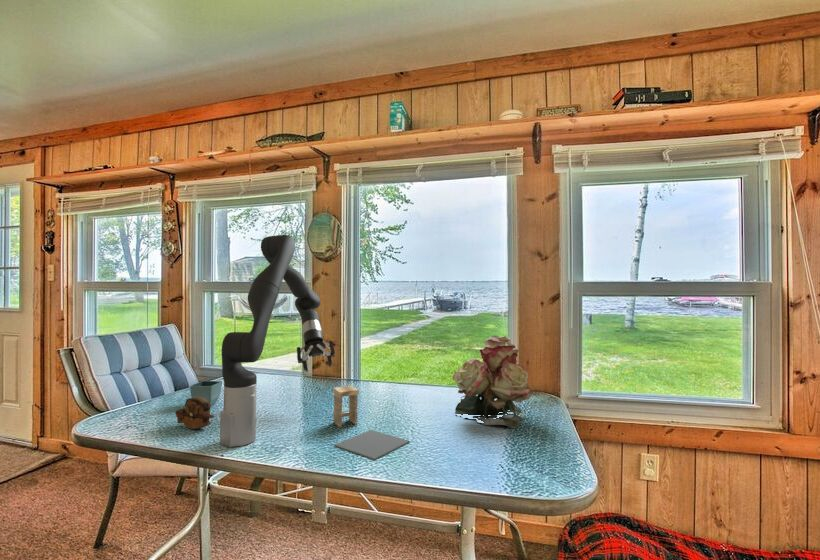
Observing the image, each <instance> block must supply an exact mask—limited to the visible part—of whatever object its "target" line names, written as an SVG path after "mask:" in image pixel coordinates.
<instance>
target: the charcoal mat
mask: <svg viewBox="0 0 820 560" xmlns="http://www.w3.org/2000/svg"><path fill="white" fill-rule="evenodd" d="M410 442H411V441H410V440H408V439H404V438H401V437H398V436H395V435H390V434H388V433H384V432H380V431H376V430H373V429H370V430H367V431H364V432H362V433H359V434H357V435H354V436H352V437H349V438H347V439H344V440H343V441H341V442H338V443H336V444H334V447H335V448H339V449H341V450H345V451H347V452H350V453H353V454H356V455H359V456H362V457H363V458H364V457H365V458H367V459H371V460H373V461H377V459H379V458H381V457H384V456H386V455H388V454H389V453H391V452H393V451H395V450H397V449H399V448H402V447H403V446H406V445H407V444H409V443H410Z"/></svg>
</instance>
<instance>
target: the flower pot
mask: <svg viewBox="0 0 820 560" xmlns="http://www.w3.org/2000/svg"><path fill="white" fill-rule="evenodd" d="M222 385H223V381H222V380H201V381H198V382H196V383H194V384H191V385H189V386H190V387H189V390H190V396H191V397H190V398H197V397H202V398H204V399H205V400H207V401H208V402H210V404H211V407H212V406H214V405H215V404H216V403H217V402H218V400H219V398H220V396H221V393H222Z"/></svg>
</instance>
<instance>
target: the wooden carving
mask: <svg viewBox="0 0 820 560" xmlns="http://www.w3.org/2000/svg"><path fill="white" fill-rule="evenodd" d="M184 406H185V407H184V408H181V409H177V410H175V418H177V424H183V425H184V426H185V427H186V428H188V429H192V430H195V429H203V428H205V427H209V426H210V425H211V423H212V422H211V421H210V419H214V418H215V415H214V414H211V407H212V406H211V404H210V402H208V401H207V400H205V399H204V398H202V397H197V398H192V397H190V398H187V399H186V401H185V403H184Z"/></svg>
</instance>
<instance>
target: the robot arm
mask: <svg viewBox="0 0 820 560" xmlns="http://www.w3.org/2000/svg"><path fill="white" fill-rule="evenodd" d="M295 244H296V243H295V240H294V237H292V236H291V235H289V234H278V235H270V236H266V237H263V238H262V240H261V242H260V251H261V254H262V256H263V257H264V258H265V260H266V261H267V262H268V263H269V265H268V266H266V267H265V268H264V269H263V270H262V271H260V273H259V274H258V275H257V276H255V278H254V279H253V281H252V284H251V286H250V289H249V291H248V294H247V303H248V304H247V305H248V307H249V308H250V311H251V314H252V317H253V324H252V327H251V330H250V331H249V332H248V331H233V332H228V333H227V334H226V335H225V336H224V338H223V340H222V343H221V370H222V371H221V375H222V380H223V410H221V411H220V415H219V416H220V419H219V443H220V444H221V445H223V446H226V447H228V448H230V449H231V448H234V447H243V446H246V445H248V444H252V443H253V442H254V441H256V436H257V435H256V433H257V429H256V428H257V427H256V425H257V388H258V387H257V380H258V379H257V378H258V377H257V374H256V373H255V372H253V371H250V370H248V369H246V368H245V367H244V366H243V365H242V363H255V362H257V361H259V359H260V357H261V355H262V353H263V350H264V347H265V343H266V338H267V332H268V328H269V324H270V320H271V317H272V314H273V310H274V307H275V305H276V302H277V300H278V297H279V293H280V291H281V286H282V284H283V280H284V282H285V284H286V285H287V286H288V289H289V290H290V291H291V293H292V295H293V297H295V298H296V299H295V301H294V305H295V308H296V310H297V312H298V314H299V315H300V318H301V325H302V335H303V343H304V345H303V346H304V347H299V346H297V347H296V356H297V357H296V359H297V363H298V364H302V367H303V371H305V372H307V373H308V372H309V370H308V361H309V360H310V358H311V357H319V356H321V355H322V356H323V357H325V358H326V360H327V365H328V368H331V366H333V361H332V358H333V357H336V351H335V347H334V344H333V341H332V340H330V341H329V342H325V341H324V336H323V330H322V326H321V323H320V317H319V313H318V312H317V311H316V309H318V308H319V307H320V306H321V299H320V295H318V293H316V292H315V291H314V290H313V289H312V288H311V287H310V286H309V285H308V283H307V281H306V279H305V277H304V276H303V275H302V274H301V273H300V272H299V271H298V270H297V269H295V268H294V267H292V266H291V265H290V264H291V261H292V259H293V257H294V254H295V249H296V248H295V247H296V246H295ZM326 348H327V349H330V352H329V351H328V350H327V349H326ZM304 352H305V354H304V356H303V358H302V354H303V353H304Z"/></svg>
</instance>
